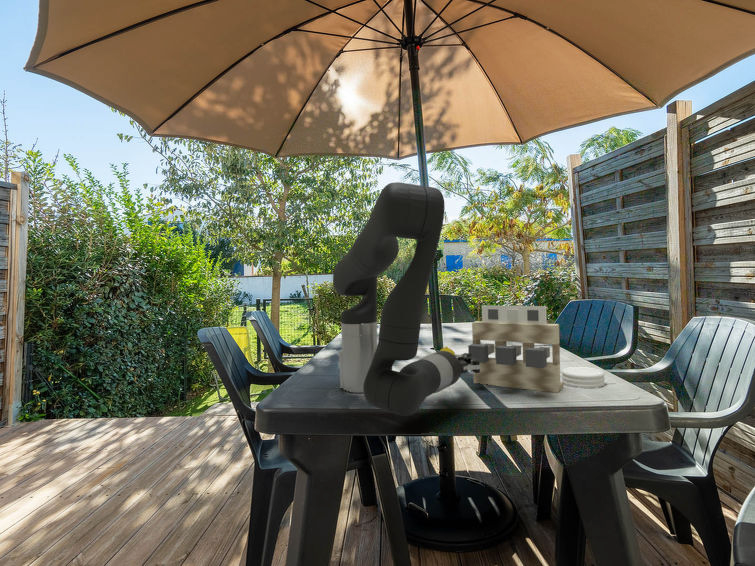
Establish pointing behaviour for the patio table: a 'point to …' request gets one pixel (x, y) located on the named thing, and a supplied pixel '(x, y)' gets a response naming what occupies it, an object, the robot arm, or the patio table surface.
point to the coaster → (583, 377)
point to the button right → (537, 357)
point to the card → (514, 314)
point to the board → (519, 372)
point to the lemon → (448, 350)
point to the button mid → (507, 354)
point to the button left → (481, 351)
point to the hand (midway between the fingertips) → (468, 357)
